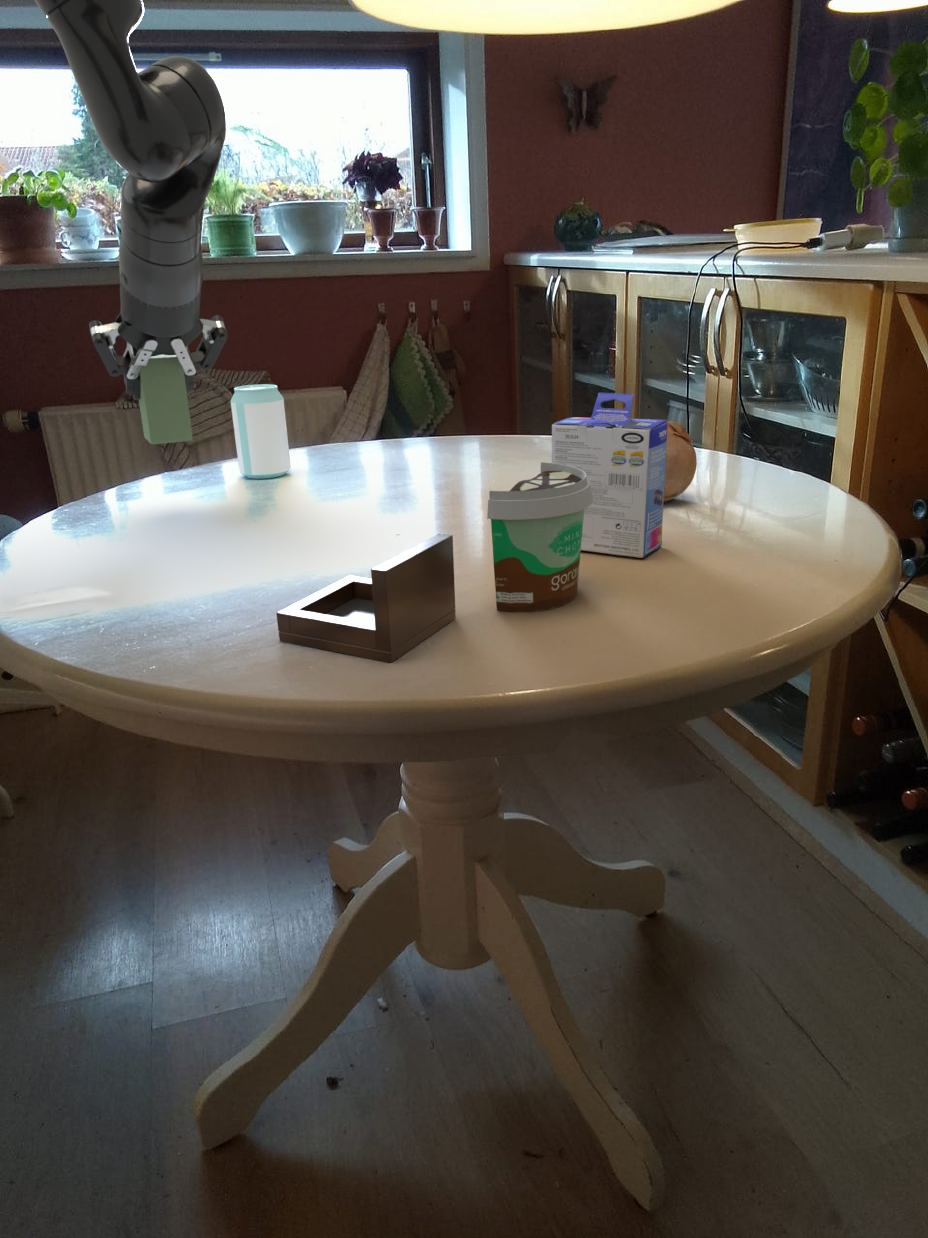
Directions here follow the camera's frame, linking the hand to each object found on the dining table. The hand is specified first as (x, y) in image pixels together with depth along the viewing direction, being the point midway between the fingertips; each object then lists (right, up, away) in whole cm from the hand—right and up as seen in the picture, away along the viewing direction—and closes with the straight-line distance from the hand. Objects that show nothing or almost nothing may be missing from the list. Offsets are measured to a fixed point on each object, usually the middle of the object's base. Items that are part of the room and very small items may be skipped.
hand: (158, 391), depth 100 cm
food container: (+42, -24, -26) cm, 55 cm away
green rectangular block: (+1, -5, 0) cm, 6 cm away
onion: (+56, -12, +4) cm, 58 cm away
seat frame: (+27, -26, -31) cm, 49 cm away
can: (+7, -6, +25) cm, 26 cm away
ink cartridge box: (+48, -19, -13) cm, 53 cm away
